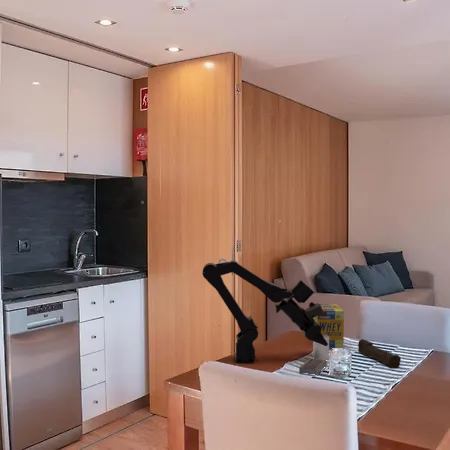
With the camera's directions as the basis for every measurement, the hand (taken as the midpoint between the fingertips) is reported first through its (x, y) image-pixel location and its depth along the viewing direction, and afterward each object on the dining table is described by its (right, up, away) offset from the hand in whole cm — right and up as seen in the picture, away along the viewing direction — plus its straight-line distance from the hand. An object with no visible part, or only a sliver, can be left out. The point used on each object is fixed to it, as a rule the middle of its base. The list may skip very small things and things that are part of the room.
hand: (324, 342), depth 192 cm
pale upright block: (-1, -7, 0) cm, 7 cm away
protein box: (+5, -6, +21) cm, 23 cm away
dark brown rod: (+18, -7, 0) cm, 20 cm away
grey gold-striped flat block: (-6, -7, -12) cm, 15 cm away
